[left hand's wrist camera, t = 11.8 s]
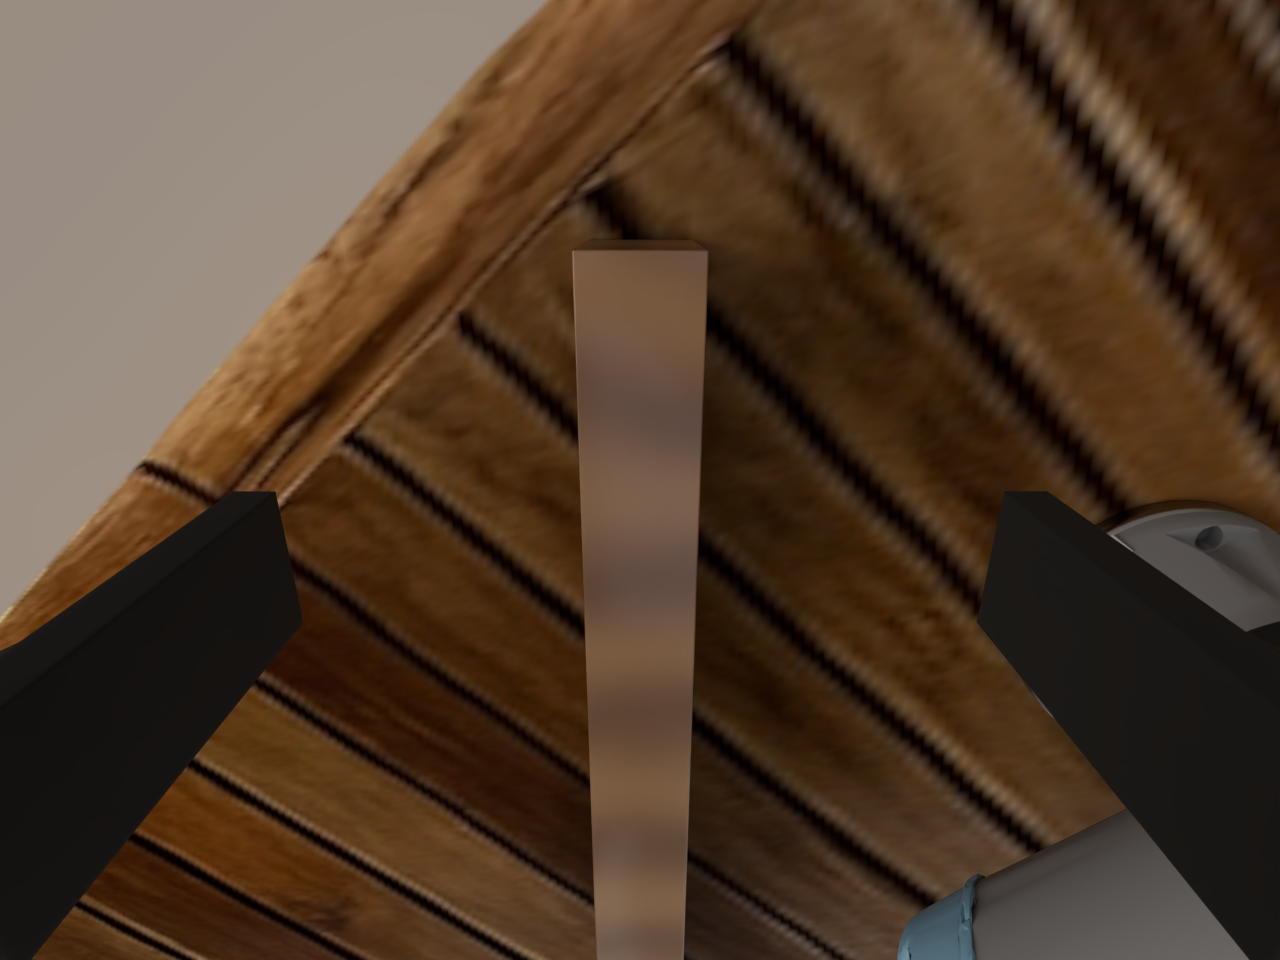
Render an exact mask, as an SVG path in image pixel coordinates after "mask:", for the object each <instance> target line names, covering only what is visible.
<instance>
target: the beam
mask: <svg viewBox="0 0 1280 960" xmlns="http://www.w3.org/2000/svg"><path fill="white" fill-rule="evenodd" d="M708 261H709V251H708V250H707V249H705V248H704V247H702V246H701V245H699V244H698V243H696V242H695V241H694V240H587V241H585V242H584V243H583V244H581V245H580V246H578V247H577V248H575V249H574V250H572V268H573V297H574V326H575V355H576V384H577V413H578V442H579V471H580V500H581V528H582V557H583V586H584V615H585V644H586V673H587V702H588V731H589V760H590V789H591V818H592V847H593V876H594V905H595V934H596V960H684V933H685V905H686V877H687V849H688V821H689V793H690V765H691V737H692V709H693V681H694V653H695V625H696V597H697V569H698V541H699V513H700V485H701V457H702V429H703V401H704V373H705V345H706V317H707V289H708Z"/></svg>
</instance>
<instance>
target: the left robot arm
mask: <svg viewBox="0 0 1280 960" xmlns="http://www.w3.org/2000/svg"><path fill="white" fill-rule="evenodd" d="M302 623H303V619H302V614H301V610H300V605H299V600H298V596H297V591H296V586H295V582H294V577H293V572H292V567H291V563H290V558H289V553H288V549H287V544H286V539H285V535H284V530H283V525H282V521H281V516H280V511H279V506H278V502H277V497H276V492H231V493H230V494H229V495H227V496H226V497H224V498H223V499H221V500H220V501H219V502H217V503H216V504H214V505H213V506H212V507H210V508H209V509H207V510H206V511H204V512H203V513H202V514H200V515H199V516H197V517H196V518H195V519H193V520H192V521H190V522H189V523H187V524H186V525H185V526H183V527H182V528H180V529H179V530H178V531H176V532H175V533H173V534H172V535H170V536H169V537H168V538H166V539H165V540H163V541H162V542H161V543H159V544H158V545H156V546H155V547H153V548H152V549H151V550H149V551H148V552H146V553H145V554H143V555H142V556H141V557H139V558H138V559H136V560H135V561H134V562H132V563H131V564H129V565H128V566H126V567H125V568H124V569H122V570H121V571H119V572H118V573H117V574H115V575H114V576H112V577H111V578H109V579H108V580H107V581H105V582H104V583H102V584H101V585H100V586H98V587H97V588H95V589H94V590H92V591H91V592H90V593H88V594H87V595H85V596H84V597H83V598H81V599H80V600H78V601H77V602H75V603H74V604H73V605H71V606H70V607H68V608H67V609H66V610H64V611H63V612H61V613H60V614H58V615H57V616H56V617H54V618H53V619H51V620H50V621H49V622H47V623H46V624H44V625H43V626H41V627H40V628H39V629H37V630H36V631H34V632H33V633H31V634H30V635H29V636H27V637H26V638H24V639H23V640H22V641H20V642H18V643H16V644H14V645H12V646H10V647H8V648H6V649H4V650H2V651H0V960H31V959H32V958H33V956H34V955H35V954H36V953H37V951H38V950H39V949H40V948H41V947H42V945H43V944H44V943H45V942H46V940H47V939H48V938H49V937H50V935H51V934H52V933H53V932H54V930H55V929H56V928H57V927H58V925H59V924H60V923H61V922H62V920H63V919H64V918H65V917H66V916H67V914H68V913H69V912H70V911H71V909H72V908H73V907H74V906H75V904H76V903H77V902H78V901H79V899H80V898H81V897H82V896H83V894H84V893H85V892H86V891H87V889H88V888H89V887H90V886H91V884H92V883H93V882H94V881H95V880H96V878H97V877H98V876H99V875H100V873H101V872H102V871H103V870H104V868H105V867H106V866H107V865H108V863H109V862H110V861H111V860H112V858H113V857H114V856H115V855H116V853H117V852H118V851H119V850H120V849H121V847H122V846H123V845H124V844H125V842H126V841H127V840H128V839H129V837H130V836H131V835H132V834H133V832H134V831H135V830H136V829H137V827H138V826H139V825H140V824H141V822H142V821H143V820H144V819H145V818H146V816H147V815H148V814H149V813H150V811H151V810H152V809H153V808H154V806H155V805H156V804H157V803H158V801H159V800H160V799H161V798H162V796H163V795H164V794H165V793H166V791H167V790H168V789H169V788H170V787H171V785H172V784H173V783H174V782H175V780H176V779H177V778H178V777H179V775H180V774H181V773H182V772H183V770H184V769H185V768H186V767H187V765H188V764H189V763H190V762H191V760H192V759H193V758H194V757H195V756H196V754H197V753H198V752H199V751H200V749H201V748H202V747H203V746H204V744H205V743H206V742H207V741H208V739H209V738H210V737H211V736H212V734H213V733H214V732H215V731H216V729H217V728H218V727H219V726H220V725H221V723H222V722H223V721H224V720H225V718H226V717H227V716H228V715H229V713H230V712H231V711H232V710H233V708H234V707H235V706H236V705H237V703H238V702H239V701H240V700H241V698H242V697H243V696H244V695H245V694H246V692H247V691H248V690H249V689H250V687H251V686H252V685H253V684H254V682H255V681H256V680H257V679H258V677H259V676H260V675H261V674H262V672H263V671H264V670H265V669H266V667H267V666H268V665H269V664H270V663H271V661H272V660H273V659H274V658H275V656H276V655H277V654H278V653H279V651H280V650H281V649H282V648H283V646H284V645H285V644H286V643H287V641H288V640H289V639H290V638H291V636H292V635H293V634H294V633H295V632H296V630H297V629H298V628H299V627H300V625H301V624H302ZM977 623H978V624H979V625H980V627H981V628H982V629H983V630H984V632H985V633H986V634H987V635H988V636H989V638H990V639H991V640H992V641H993V643H994V644H995V645H996V646H997V648H998V649H999V650H1000V651H1001V653H1002V654H1003V655H1004V656H1005V658H1006V659H1007V660H1008V661H1009V663H1010V664H1011V665H1012V666H1013V667H1014V669H1015V670H1016V671H1017V672H1018V674H1019V675H1020V676H1021V678H1022V680H1023V682H1024V683H1025V685H1026V687H1027V688H1028V689H1029V691H1030V692H1031V693H1032V695H1033V696H1034V697H1035V698H1036V700H1037V701H1038V702H1039V703H1040V705H1041V706H1042V707H1043V708H1044V709H1045V710H1046V711H1047V712H1048V713H1049V714H1050V715H1051V716H1052V717H1053V718H1054V719H1055V720H1056V721H1057V722H1058V723H1059V725H1060V726H1061V727H1062V728H1063V729H1064V731H1065V732H1066V733H1067V734H1068V736H1069V737H1070V738H1071V739H1072V741H1073V742H1074V743H1075V744H1076V746H1077V747H1078V748H1079V749H1080V751H1081V752H1082V753H1083V754H1084V756H1085V757H1086V758H1087V759H1088V760H1089V762H1090V763H1091V764H1092V765H1093V767H1094V768H1095V769H1096V770H1097V772H1098V773H1099V774H1100V775H1101V777H1102V778H1103V779H1104V780H1105V782H1106V783H1107V784H1108V785H1109V787H1110V788H1111V789H1112V790H1113V791H1114V793H1115V794H1116V795H1117V796H1118V798H1119V799H1120V800H1121V801H1122V803H1123V804H1124V805H1125V806H1126V808H1127V809H1125V810H1123V811H1121V812H1119V813H1117V814H1115V815H1113V816H1111V817H1109V818H1107V819H1105V820H1102V821H1100V822H1098V823H1096V824H1094V825H1092V826H1090V827H1088V828H1086V829H1084V830H1082V831H1080V832H1078V833H1076V834H1074V835H1072V836H1070V837H1068V838H1066V839H1064V840H1062V841H1060V842H1058V843H1056V844H1054V845H1052V846H1050V847H1048V848H1046V849H1043V850H1041V851H1039V852H1037V853H1035V854H1033V855H1031V856H1029V857H1027V858H1025V859H1023V860H1021V861H1019V862H1017V863H1015V864H1013V865H1011V866H1009V867H1007V868H1005V869H1002V870H1000V871H998V872H996V873H994V874H992V875H989V876H987V877H985V876H983V875H980V874H977V875H975V876H973V877H971V878H969V879H968V880H967V882H966V884H965V887H963V888H961V889H959V890H958V891H956V892H954V893H952V894H950V895H949V896H947V897H945V898H943V899H942V900H940V901H938V902H936V903H935V904H933V905H931V906H929V907H927V908H926V909H924V910H922V911H920V912H919V913H918V914H917V915H915V916H914V917H913V918H912V919H911V920H910V921H909V923H908V924H907V926H906V927H905V929H904V931H903V934H902V937H901V940H900V943H899V949H898V956H897V960H1280V535H1279V534H1278V533H1277V532H1275V531H1274V530H1273V529H1271V528H1270V527H1268V526H1266V525H1265V524H1263V523H1261V522H1259V521H1257V520H1255V519H1253V518H1251V517H1249V516H1247V515H1245V514H1243V513H1241V512H1239V511H1237V510H1234V509H1232V508H1229V507H1226V506H1222V505H1219V504H1214V503H1208V502H1200V501H1173V502H1164V503H1158V504H1152V505H1148V506H1144V507H1140V508H1136V509H1133V510H1130V511H1127V512H1125V513H1122V514H1119V515H1117V516H1115V517H1112V518H1110V519H1108V520H1106V521H1104V522H1102V523H1100V524H1098V525H1096V526H1095V525H1094V524H1093V523H1091V522H1090V521H1088V520H1087V519H1085V518H1084V517H1083V516H1081V515H1080V514H1078V513H1077V512H1076V511H1074V510H1073V509H1071V508H1070V507H1068V506H1067V505H1066V504H1064V503H1063V502H1061V501H1060V500H1059V499H1057V498H1056V497H1054V496H1053V495H1051V494H1050V493H1049V492H1004V497H1003V502H1002V506H1001V511H1000V516H999V521H998V525H997V530H996V535H995V539H994V544H993V549H992V553H991V558H990V563H989V567H988V572H987V577H986V582H985V586H984V591H983V596H982V600H981V605H980V610H979V614H978V619H977Z"/></svg>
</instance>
